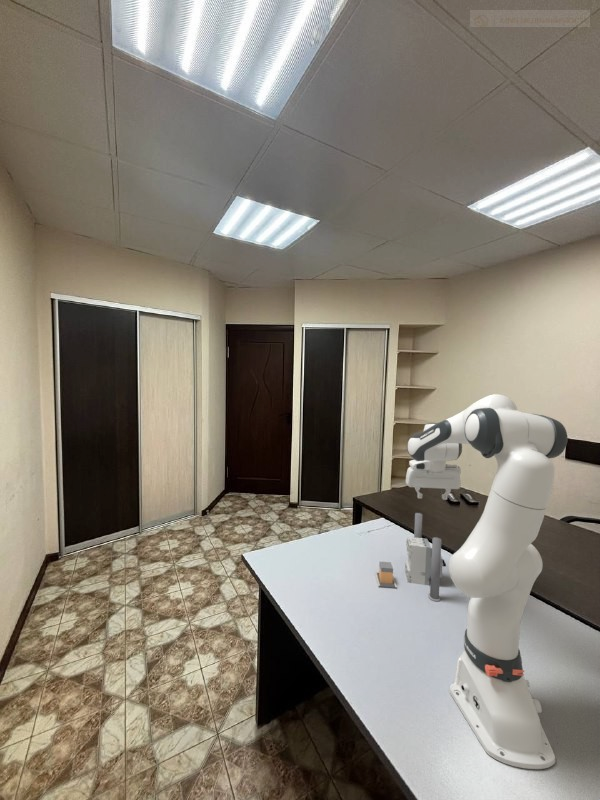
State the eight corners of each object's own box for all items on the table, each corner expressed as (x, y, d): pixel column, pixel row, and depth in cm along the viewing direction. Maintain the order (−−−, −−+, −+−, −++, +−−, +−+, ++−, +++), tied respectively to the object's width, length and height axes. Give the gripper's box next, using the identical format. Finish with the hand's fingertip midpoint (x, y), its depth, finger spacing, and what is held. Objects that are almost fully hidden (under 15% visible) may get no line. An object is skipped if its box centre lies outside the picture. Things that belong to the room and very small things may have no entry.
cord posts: (441, 602, 116) (444, 542, 115) (430, 601, 116) (433, 541, 115) (420, 561, 143) (422, 512, 142) (410, 560, 143) (412, 512, 142)
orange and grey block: (392, 583, 125) (393, 568, 125) (380, 582, 125) (381, 567, 125) (390, 576, 130) (390, 562, 129) (378, 576, 130) (379, 561, 130)
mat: (397, 588, 123) (397, 587, 123) (378, 587, 123) (378, 585, 123) (392, 574, 132) (392, 573, 132) (374, 573, 132) (374, 572, 132)
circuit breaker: (446, 587, 124) (447, 549, 124) (407, 582, 127) (408, 545, 126) (441, 576, 132) (443, 540, 131) (405, 571, 134) (406, 536, 134)
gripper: (457, 463, 129) (456, 497, 129) (405, 461, 130) (404, 494, 131) (464, 466, 123) (462, 502, 123) (409, 464, 124) (408, 500, 125)
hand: (432, 498), depth 127 cm, fingers open, 8 cm apart
